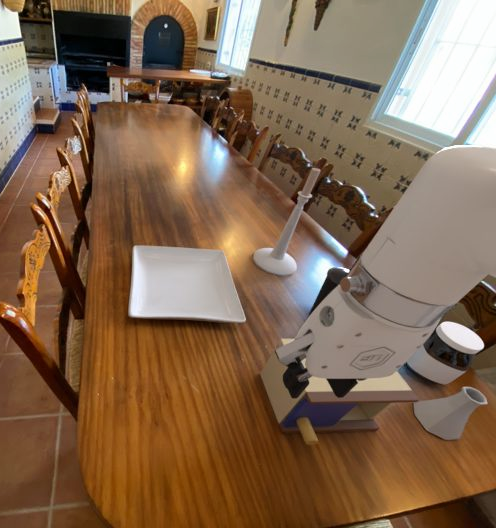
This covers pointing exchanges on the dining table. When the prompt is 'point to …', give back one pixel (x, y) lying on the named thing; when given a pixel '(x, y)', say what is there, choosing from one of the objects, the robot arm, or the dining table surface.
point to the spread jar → (446, 353)
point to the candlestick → (285, 237)
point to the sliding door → (315, 417)
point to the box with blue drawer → (335, 397)
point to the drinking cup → (331, 283)
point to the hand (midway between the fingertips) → (311, 386)
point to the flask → (449, 412)
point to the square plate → (183, 285)
